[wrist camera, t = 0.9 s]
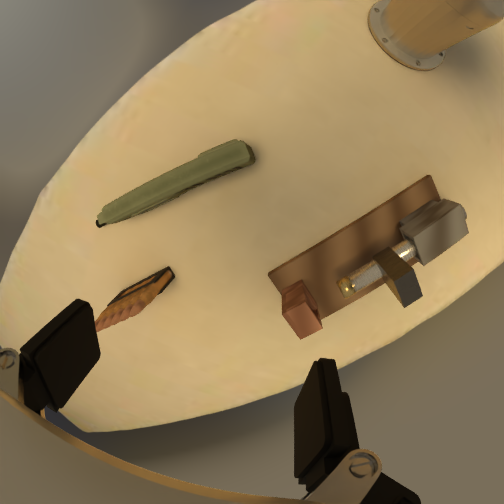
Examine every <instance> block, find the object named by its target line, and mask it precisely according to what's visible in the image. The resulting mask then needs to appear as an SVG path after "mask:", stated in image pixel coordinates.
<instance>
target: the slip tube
mask: <svg viewBox="0 0 504 504" xmlns="http://www.w3.org/2000/svg"><path fill="white" fill-rule="evenodd" d="M458 204H459V203H458ZM461 207H462V205H461ZM462 211H463V214H464V217H465V220H466V218H467V215H466V212H465V209H464V208H463V207H462ZM417 254H418V252H417V249H416V247H415V244H414V242H413V240H412V239H411V238H409V237H408V238H406V239H405V240H403V241H402V242H400V243H399V244H397V245H396V246H394V247H393V248H390V247H389V246H388V247H387V248H385V249H383V250H382V251H380V252H379V253H377V254H375V255H374V256H372V258H373V260H372V261H370V262H369V263H367V264H365V265H364V266H362V267H361V268H359V269H357V270H356V271H354V272H352V273H351V274H349V275H346V276H345V277H343V278H341V279H340V280H338V281H336V283H337V285H338V287H339V289H340V291H341V293H342V295H343V296H344V298H345V299H347V298H349V297H351V296H352V295H354V294H356V293H357V292H358V291H360V290H362V289H364V288H365V287H367V286H369V285H370V284H372V283H374V282H375V281H377V280H378V279H380V278H382V279H383V281H384V282H385V283H386V284H387V286H388V287H389V288H390V290H391V291H392V292H393V294H394V295H395V296H396V298H397V299H398V300H399V302H400V303H401V304H402V306H403V307H404V308H405V307H407V306H408V305H410V304H411V303H413V302H415V301H416V300H418V299H419V298H421V297H422V296H423V295H422V292H421V289H420V286H419V283H418V280H417V277H416V274H415V272H414V269H413V268H412V267H411V266H410V265H409V264H408V263H407V261H408V260H410V259H411V258H413V257H414V256H416V255H417Z"/></svg>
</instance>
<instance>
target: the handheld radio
mask: <svg viewBox="0 0 504 504" xmlns="http://www.w3.org/2000/svg"><path fill="white" fill-rule="evenodd" d="M254 162H255V156H254V154H253V151H252V149H251V147H250V146H249V145H247V144H246V143H245V142H244V141H241V140H240V141H238V140H237V139H234V140H231V141H229V142H226V143H224V144H221V145H219V146H217V147H214V148H212V149H210V150H207V151H205V152H203V153H201V154H200V155H199V156H198V158H196V159H194V160H192V161H190V162H188V163H185V164H183V165H181V166H179V167H177V168H175V169H173V170H171V171H169V172H167V173H165V174H163V175H161V176H159V177H157V178H155V179H153V180H151V181H149V182H147V183H145V184H143V185H141V186H139V187H137V188H136V189H134V190H132V191H130V192H128V193H126V194H125V195H123V196H121V197H119V198H118V199H116V200H114V201H112V202H111V203H109V204H107V205H105V206H104V207H103V208H102V212H101V213H100V214H99V215H97V218H98V220H96V225H97V227H98V228H101V227H102V226H104V225H106V224H113V223H118V222H120V221H123V220H126V219H128V218H131V217H134V216H136V215H139V214H142V213H145V212H147V211H149V210H151V209H153V208H156V207H158V206H160V205H162V204H164V203H166V202H168V201H171V200H173V199H175V198H177V197H179V196H180V195H181V194H183V193H185V192H187V191H188V190H191V189H193V188H195V187H197V186H200V185H202V184H204V183H207V182H209V181H211V180H214V179H216V178H219V177H221V176H223V175H226V174H228V173H231V172H233V171H236V170H238V169H241V168H243V167H246V166H248V165H251V164H253V163H254Z"/></svg>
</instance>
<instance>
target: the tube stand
mask: <svg viewBox="0 0 504 504" xmlns="http://www.w3.org/2000/svg"><path fill="white" fill-rule="evenodd" d="M468 233H469V231H468V228H467V224H466V221H465V217H464V214H463V211H462V207H461V204H458V203H456V202H453V201H450V200H446V199H442V200H440V197H439V194H438V192H437V189H436V187H435V184H434V182H433V179H432V177H431V176H430V175H427V176H425V177H424V178H422V179H421V180H419V181H417V182H416V183H414V184H413V185H411V186H410V187H408V188H407V189H405V190H403V191H402V192H400V193H399V194H397V195H396V196H394V197H392V198H391V199H389V200H388V201H386V202H385V203H383V204H381V205H380V206H378V207H377V208H375V209H373V210H372V211H370V212H369V213H367V214H365V215H364V216H362V217H361V218H359V219H357V220H356V221H354V222H353V223H351V224H349V225H348V226H346V227H344V228H343V229H341V230H339V231H338V232H336V233H335V234H333V235H331V236H330V237H328V238H326V239H325V240H323V241H321V242H320V243H318V244H316V245H315V246H313V247H311V248H310V249H308V250H306V251H305V252H303V253H301V254H300V255H298V256H296V257H294V258H293V259H291V260H289V261H288V262H286V263H284V264H283V265H281V266H279V267H277V268H276V269H274V270H272V271H271V272H269V273H268V276H269V278H270V279H271V281H272V282H273V284H274V285H275V286H276V288H277V289H278V291H279V292H280V294H281V295H282V315H283V317H284V318H285V319H286V321H287V322H288V323H289V325H290V326H291V328H292V329H293V330H294V332H295V333H296V334H297V336H298V337H299V338H300V340H301V339H303V338H305V337H307V336H309V335H311V334H313V333H315V332H317V331H319V330H321V329H323V327H322V323H321V319H323V318H325V317H327V316H329V315H331V314H332V313H334V312H336V311H338V310H340V309H342V308H343V307H345V306H347V305H349V304H350V303H352V302H354V301H356V300H357V299H359V298H361V297H363V296H364V295H366V294H368V293H369V292H371V291H373V290H374V289H376V288H378V287H379V286H381V285H382V284H384V283H385V282H384V281H383V279H382V278H380V279H378V280H377V281H375V282H374V283H372V284H370V285H369V286H367V287H365V288H364V289H362V290H360V291H358V292H357V293H356V294H354V295H352V296H351V297H349V298H347V299H345V298H344V296H343V295H342V293H341V291H340V289H339V287H338V285H337V283H336V281H338V280H340V279H341V278H343V277H345V276H346V275H349V274H351V273H352V272H354V271H356V270H357V269H359V268H361V267H362V266H364V265H365V264H367V263H369V262H370V261H372V260H373V258H372V256H374V255H375V254H377V253H379V252H380V251H382V250H383V249H385V248H387V247H388V246H389V247H390V248H393V247H394V246H396V245H397V244H399V243H400V242H402V241H403V240H405V239H406V238H408V237H409V238H411V239H412V240H413V242H414V244H415V247H416V249H417V252H418V254H417V255H416V256H414V257H413V258H411V259H410V260H408V261H407V263H408V264H409V265H410V266H412V265H414V264H415V263H417V262H420V263H421V264H422V265H423V266H425V265H426V264H427V263H429V262H430V261H432V260H433V259H435V258H436V257H437V256H439V255H440V254H442V253H443V252H444V251H446V250H447V249H448V248H450V247H451V246H452V245H454V244H455V243H456V242H458V241H459V240H460V239H462V238H463V237H464V236H466V235H467V234H468Z"/></svg>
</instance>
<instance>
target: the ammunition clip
mask: <svg viewBox="0 0 504 504" xmlns="http://www.w3.org/2000/svg"><path fill="white" fill-rule="evenodd" d="M174 278H175V275H174V274H173V272H172V271H171V269H170V267H166V268H164V269H162V270H160V271H158V272H157V273H155V274H153V275H151V276H149V277H147V278H145V279H143V280H141V281H139V282H138V283H136V284H134V285H132V286H130V287H128V288H126V289H124V290H123V291H121V292H120V293H119V294H118V295H117V296H116V297H115V298H114V299H113V300H112V301H111V302H110V303H109V304H108V305H107V306H108V307H107V308H106V309H105V310H104V311H103V312H102V313H101V314H100V316H99V317H98V319H97V320H96V321H95V327H96V332H99V331H101V330H103V329H105V328H108V327H110V326H111V325H115V324H117V323H119V322H120V321H124V320H126V319H128V318H129V317H133V316H135V315H137V314H138V313H140V312H141V311H142V310H143V309H144V308H145V307H146V306H147V305H148V304H149V303H151V302H152V300H153V299H154V298H155V297H156V296H157V295H158V294H160V293H162V292H163V290H164V289H165V288H166V287H167V286H168V285H169V283H170V282H171V281H172V280H173V279H174Z"/></svg>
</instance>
